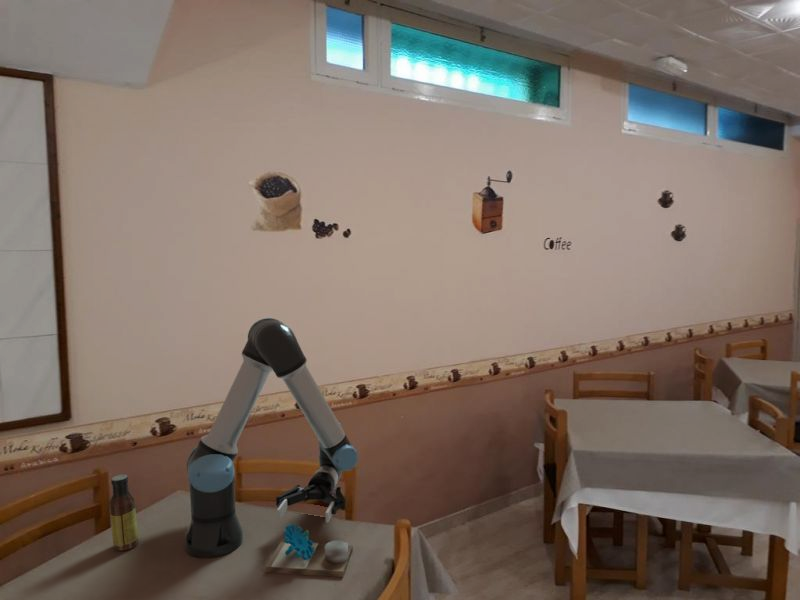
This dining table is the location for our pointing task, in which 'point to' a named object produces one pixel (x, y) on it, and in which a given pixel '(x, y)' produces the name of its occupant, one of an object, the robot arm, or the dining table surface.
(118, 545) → the sauce bottle
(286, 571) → the wooden board
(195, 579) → the dining table surface
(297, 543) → the gear
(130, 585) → the dining table surface
